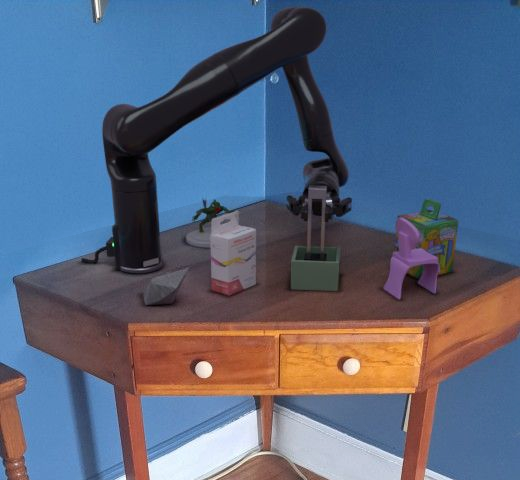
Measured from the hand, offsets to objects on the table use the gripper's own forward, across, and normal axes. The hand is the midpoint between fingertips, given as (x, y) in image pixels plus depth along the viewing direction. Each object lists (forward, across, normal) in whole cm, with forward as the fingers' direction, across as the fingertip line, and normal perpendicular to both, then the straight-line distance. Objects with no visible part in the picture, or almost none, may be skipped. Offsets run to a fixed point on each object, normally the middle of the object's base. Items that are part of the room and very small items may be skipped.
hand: (316, 216), depth 156 cm
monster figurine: (-28, -26, +15) cm, 41 cm away
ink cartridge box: (+2, -16, +15) cm, 22 cm away
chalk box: (-12, +22, +15) cm, 29 cm away
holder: (-3, 0, +14) cm, 15 cm away
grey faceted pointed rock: (+10, -28, +15) cm, 33 cm away
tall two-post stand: (-3, 0, +12) cm, 12 cm away
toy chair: (0, +19, +15) cm, 24 cm away
